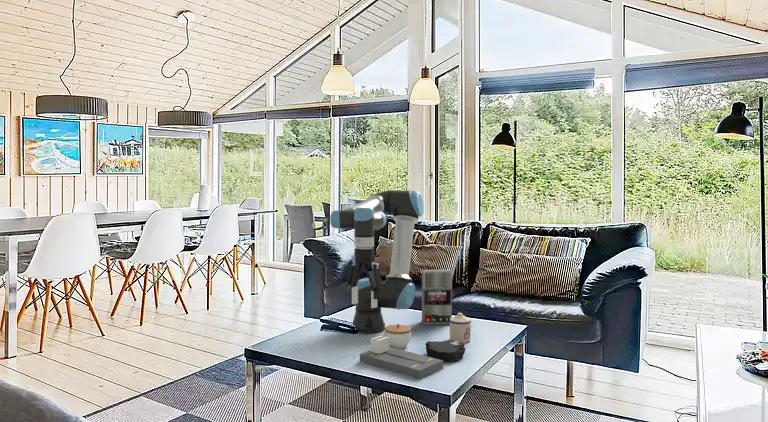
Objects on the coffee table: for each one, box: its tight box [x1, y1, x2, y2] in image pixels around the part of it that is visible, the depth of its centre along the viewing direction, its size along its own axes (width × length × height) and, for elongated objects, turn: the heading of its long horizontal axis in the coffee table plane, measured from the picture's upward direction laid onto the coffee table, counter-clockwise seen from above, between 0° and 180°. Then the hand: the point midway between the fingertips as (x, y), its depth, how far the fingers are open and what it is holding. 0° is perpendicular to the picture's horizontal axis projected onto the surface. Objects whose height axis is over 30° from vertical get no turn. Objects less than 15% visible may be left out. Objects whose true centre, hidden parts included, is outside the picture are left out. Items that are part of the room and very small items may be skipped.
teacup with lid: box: [449, 312, 472, 344], centre depth 244 cm, size 12×9×12 cm
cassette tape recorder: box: [421, 269, 453, 326], centre depth 270 cm, size 14×6×25 cm, turn 92°
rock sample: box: [425, 339, 466, 363], centre depth 223 cm, size 18×16×5 cm
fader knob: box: [370, 335, 390, 354], centre depth 218 cm, size 4×6×5 cm, turn 140°
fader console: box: [359, 346, 444, 380], centre depth 212 cm, size 28×14×3 cm, turn 50°
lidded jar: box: [384, 323, 412, 350], centre depth 234 cm, size 11×11×9 cm
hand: (364, 305), depth 223 cm, fingers open, 9 cm apart
